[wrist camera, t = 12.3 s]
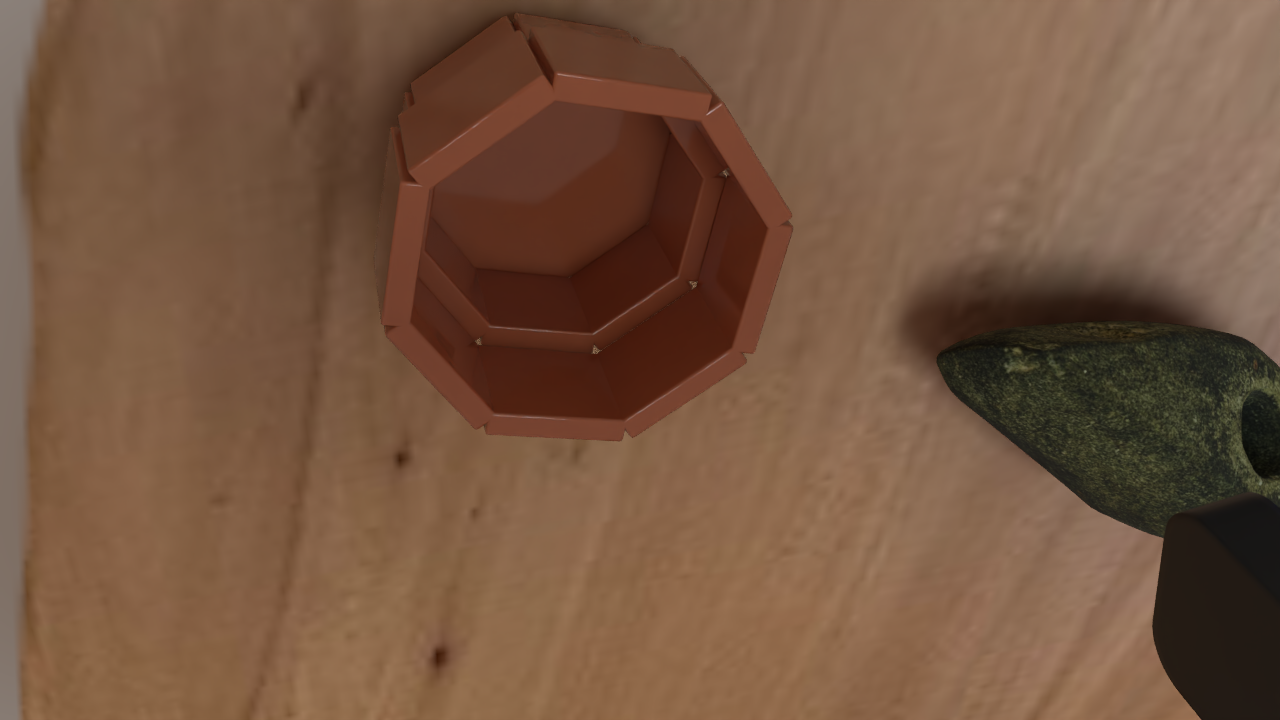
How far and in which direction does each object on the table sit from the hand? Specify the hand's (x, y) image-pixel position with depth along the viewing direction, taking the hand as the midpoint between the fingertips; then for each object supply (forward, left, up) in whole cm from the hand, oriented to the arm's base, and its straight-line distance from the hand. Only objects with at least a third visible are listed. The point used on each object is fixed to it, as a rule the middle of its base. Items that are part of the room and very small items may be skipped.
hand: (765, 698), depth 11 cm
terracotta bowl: (0, 0, -14) cm, 14 cm away
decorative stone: (+15, -4, -14) cm, 21 cm away
